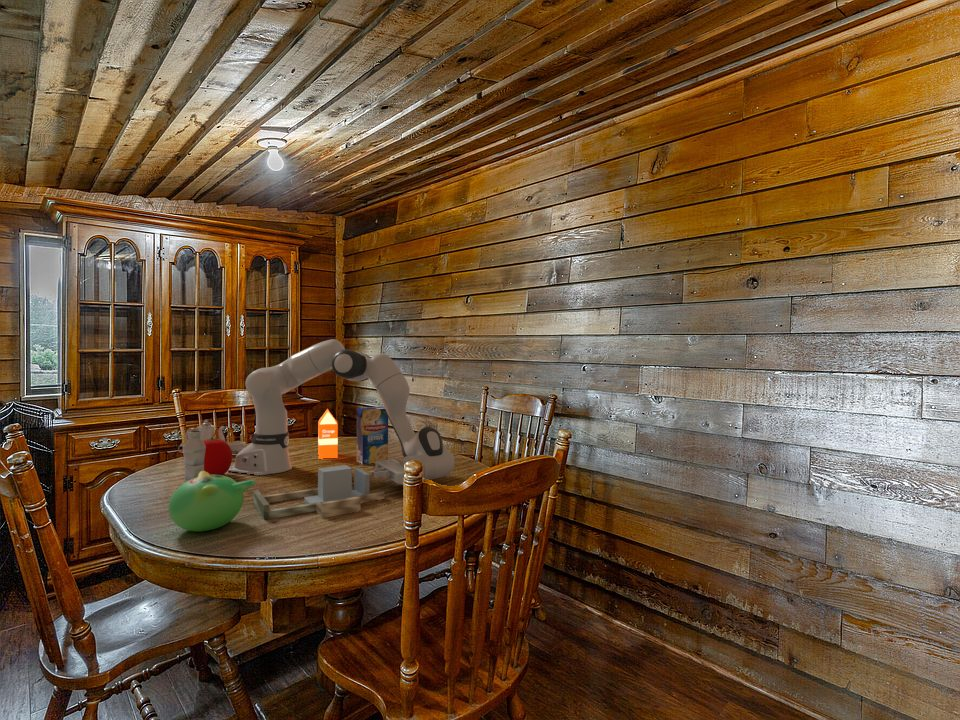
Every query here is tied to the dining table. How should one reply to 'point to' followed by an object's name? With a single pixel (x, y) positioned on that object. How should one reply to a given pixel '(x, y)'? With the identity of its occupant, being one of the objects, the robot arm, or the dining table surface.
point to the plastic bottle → (193, 455)
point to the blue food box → (372, 434)
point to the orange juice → (327, 436)
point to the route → (321, 508)
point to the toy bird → (207, 501)
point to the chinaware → (208, 432)
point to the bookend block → (339, 484)
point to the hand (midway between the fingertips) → (372, 474)
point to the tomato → (217, 456)
